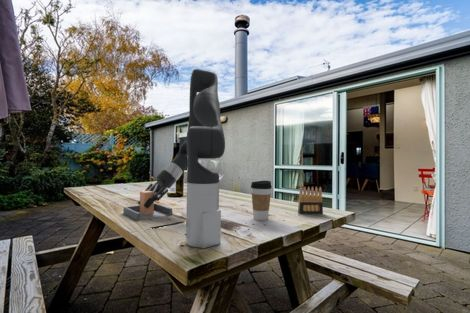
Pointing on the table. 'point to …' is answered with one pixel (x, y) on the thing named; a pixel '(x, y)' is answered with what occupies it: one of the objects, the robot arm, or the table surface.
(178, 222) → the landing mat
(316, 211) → the ammunition clip
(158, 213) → the grey square tray
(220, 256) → the table surface
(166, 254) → the table surface
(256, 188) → the coffee cup
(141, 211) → the block
